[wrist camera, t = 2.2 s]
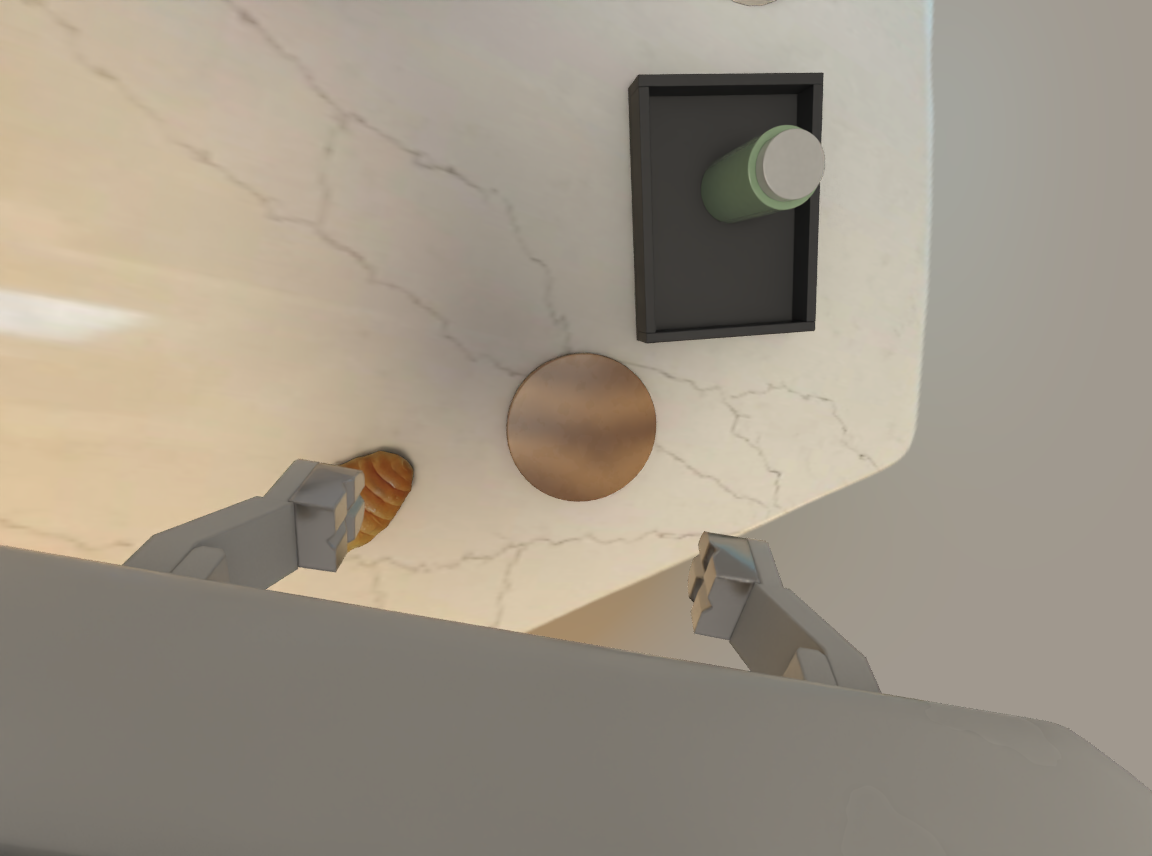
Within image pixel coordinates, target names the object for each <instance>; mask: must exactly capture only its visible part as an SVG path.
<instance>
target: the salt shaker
mask: <svg viewBox="0 0 1152 856" xmlns="http://www.w3.org/2000/svg"><path fill="white" fill-rule="evenodd" d="M824 169H825V155H824V151H823V148H822V146H821V144H820V142H819V141H818V139H817V138H816V137H815V136H814V135H813V134H811V133H810V132H808V131H806V130H803V129H801V128H799V127H797V126H792V125H781V126H777V127H774V128H772V129H770V130H768V131H766V132H764V133H762V134H761V135H759V136H757V137H755V138H753V139H751V140H750V141H748V142H746V143H744V144H742V145H740V146H739V147H737V148H735V149H733V150H731V151H729V152H728V153H726V154H724V155H722V156H720V157H719V158H717V159H716V160H714V161H713V162H712V163H711V164H710V165H709V167H708V168H707V170H706V171H705V174H704V176H703V179H702V184H701V196H702V200H703V203H704V205H705V208H706V209H707V211H708V212H709V213H710V214H711V215H712V216H713V217H714V218H715V219H717V220H719V221H721V222H724V223H738V222H742V221H746V220H750V219H754V218H758V217H762V216H766V215H769V214H773V213H777V212H781V211H785V210H789V209H793V208H795V207H798V206H800V205H801V204H803V203H804V202H806V201H807V200H808V199H809V198H810V197H811V195H812V194H813V193H814V191H815V190H816V188H817V186H818V184H819V183H820V181H821V179H822V176H823V173H824Z"/></svg>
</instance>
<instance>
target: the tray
mask: <svg viewBox="0 0 1152 856" xmlns="http://www.w3.org/2000/svg"><path fill="white" fill-rule="evenodd" d="M628 92H629V121H630V151H631V180H632V209H633V239H634V268H635V297H636V326H637V340H638V341H642V342H645V343H656V342H670V341H683V340H697V339H710V338H724V337H737V336H751V335H764V334H778V333H792V332H805V331H814V330H815V318H816V287H817V256H818V225H819V195H820V183H819V184H818V186H817V188H816V190H815V191H814V193H813V194H812V195H811V197H810V198H809V199H808V200H807V201H806V202H804V203H803V204H801V205H800V206H798V207H795V208H793V209H789V210H785V211H781V212H777V213H773V214H769V215H766V216H762V217H758V218H754V219H750V220H746V221H742V222H738V223H724V222H721V221H719V220H717V219H715V218H714V217H713V216H712V215H711V214H710V213H709V212H708V211H707V209H706V208H705V205H704V203H703V200H702V196H701V184H702V179H703V176H704V174H705V171H706V170H707V168H708V167H709V165H710V164H711V163H712V162H713V161H714V160H716V159H717V158H719V157H720V156H722V155H724V154H726V153H728V152H729V151H731V150H733V149H735V148H737V147H739V146H740V145H742V144H744V143H746V142H748V141H750V140H751V139H753V138H755V137H757V136H759V135H761V134H762V133H764V132H766V131H768V130H770V129H772V128H774V127H777V126H781V125H792V126H797V127H799V128H801V129H803V130H806V131H808V132H810V133H811V134H813V135H814V136H815V137H816V138H817V139H818V141H819V142H820V144H821V133H822V102H823V73H755V74H660V75H638V76H637V77H636V79H635V80H634V81H633V83H632V84H631V85H630V87H629V88H628Z"/></svg>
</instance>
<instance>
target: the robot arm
mask: <svg viewBox="0 0 1152 856" xmlns="http://www.w3.org/2000/svg"><path fill="white" fill-rule="evenodd" d="M364 486H365V475H364V473H363V471H362V470H357V469H352V468H347V467H341V466H336V465H331V464H326V463H319V462H316V461H310V460H305V459H297V460H295V461H294V462H293V463H292V464H291V465H290V466H289V468H288V469H287V470H286V471H285V472H284V473H283V475H282V476H281V477H280V478H279V479H278V480H277V481H276V483H275V484H274V485H273V486H272V487H271V488H270V490H269V491H268V492H267V493H266V494H265V495H264V497H259V496H256V497H253V498H250V499H248V500H245V501H243V502H240V503H237V504H235V505H232V506H229V507H227V508H224V509H221V510H219V511H216V512H213V513H211V514H208V515H205V516H203V517H200V518H197V519H195V520H192V521H189V522H187V523H184V524H182V525H179V526H176V527H174V528H171V529H168V530H166V531H163V532H160V533H158V534H155V535H153V536H152V537H151V538H150V539H148V540H147V541H146V542H145V543H144V544H143V545H142V546H141V547H140V548H139V549H138V550H137V551H136V552H135V553H134V554H133V555H132V556H131V557H130V558H129V559H128V560H127V561H126V562H125V563H124V564H123V565H117V564H111V563H105V562H99V561H93V560H87V559H81V558H75V557H69V556H63V555H57V554H51V553H46V552H40V551H34V550H28V549H22V548H16V547H10V546H4V545H0V856H1152V791H1151V790H1150V789H1149V788H1148V787H1146V786H1145V785H1144V784H1143V783H1141V782H1140V781H1139V780H1138V779H1137V778H1135V777H1134V776H1133V775H1132V774H1131V773H1129V772H1128V771H1127V770H1125V769H1124V768H1123V767H1121V766H1120V765H1119V764H1117V763H1116V762H1115V761H1113V760H1112V759H1111V758H1109V757H1108V756H1107V755H1105V754H1104V753H1103V752H1101V751H1100V750H1099V749H1097V748H1096V747H1095V746H1093V745H1092V744H1091V743H1089V742H1088V741H1086V740H1085V739H1084V738H1082V737H1081V736H1079V735H1077V734H1076V733H1075V732H1073V731H1072V730H1070V729H1069V728H1066V727H1064V726H1061V725H1059V724H1056V723H1052V722H1049V721H1043V720H1038V719H1031V718H1026V717H1020V716H1014V715H1008V714H1002V713H996V712H990V711H984V710H978V709H972V708H966V707H960V706H954V705H948V704H942V703H936V702H930V701H924V700H918V699H912V698H906V697H900V696H893V695H888V694H882V693H881V691H880V689H879V686H878V684H877V681H876V679H875V677H874V675H873V672H872V670H871V668H870V665H869V663H868V661H867V659H866V657H864V655H863V654H862V653H860V652H859V651H858V650H857V649H856V648H855V647H854V646H853V645H852V644H850V643H849V642H848V641H847V640H846V639H845V638H844V637H843V636H841V635H840V634H839V633H838V632H837V631H836V630H835V629H834V628H832V627H831V626H830V625H829V624H828V623H827V622H826V621H825V620H824V619H822V618H821V617H820V616H819V615H818V614H817V613H816V612H815V611H813V609H811V608H810V607H809V606H808V605H807V604H806V603H805V602H804V601H803V600H801V599H800V598H799V597H798V596H797V595H795V593H793V592H792V591H791V590H790V589H787V588H784V587H783V585H782V582H781V579H780V576H779V573H778V570H777V567H776V564H775V561H774V558H773V555H772V553H771V550H770V547H769V544H768V543H767V542H766V541H764V540H757V539H750V538H740V537H734V536H728V535H722V534H717V533H711V532H705V531H704V532H703V534H702V535H701V538H700V540H699V543H698V547H699V553H700V554H699V555H697V556H696V557H694V558H693V560H692V563H691V566H690V570H689V576H688V595H689V598H690V599H691V600H692V601H693V602H694V604H693V607H692V610H691V616H692V623H693V629H694V633H695V634H700V635H705V636H710V637H715V638H721V639H725V640H730V641H729V642H730V644H731V645H732V646H733V648H734V649H735V650H736V652H737V653H738V654H739V656H740V657H741V659H742V660H743V661H744V663H745V664H746V665H747V666H748V668H749V669H750V671H745V670H740V669H734V668H728V667H722V666H716V665H711V664H705V663H698V662H693V661H687V660H681V659H674V658H668V657H663V656H657V655H651V654H645V653H639V652H633V651H627V650H621V649H615V648H609V647H603V646H598V645H592V644H586V643H580V642H574V641H567V640H562V639H555V638H550V637H544V636H538V635H532V634H526V633H520V632H514V631H508V630H503V629H497V628H491V627H485V626H479V625H473V624H467V623H461V622H455V621H449V620H443V619H437V618H431V617H425V616H419V615H414V614H408V613H402V612H396V611H390V610H384V609H378V608H372V607H366V606H360V605H354V604H348V603H342V602H336V601H331V600H325V599H319V598H313V597H307V596H301V595H295V594H289V593H283V592H277V591H271V590H265V589H267V588H268V587H270V586H272V585H273V584H275V583H276V582H278V581H279V580H281V579H283V578H284V577H286V576H287V575H289V574H290V573H292V572H294V571H295V570H297V569H298V567H302V568H309V569H316V570H323V571H330V572H336V571H337V569H338V568H339V566H340V564H341V563H342V561H343V559H344V557H345V556H346V554H347V543H349V542H351V541H353V540H355V538H356V536H357V535H358V533H359V531H360V528H361V525H362V522H363V517H364V511H365V501H364V499H363V498H362V497H361V495H360V493H361V491H362V490H363V488H364Z"/></svg>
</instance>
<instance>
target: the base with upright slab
mask: <svg viewBox="0 0 1152 856" xmlns="http://www.w3.org/2000/svg"><path fill="white" fill-rule="evenodd" d="M732 1H734V2H737V3H741V4H744V5H747V6H755V5H764V4H767V3H770V2H773V1H776V0H732Z"/></svg>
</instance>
